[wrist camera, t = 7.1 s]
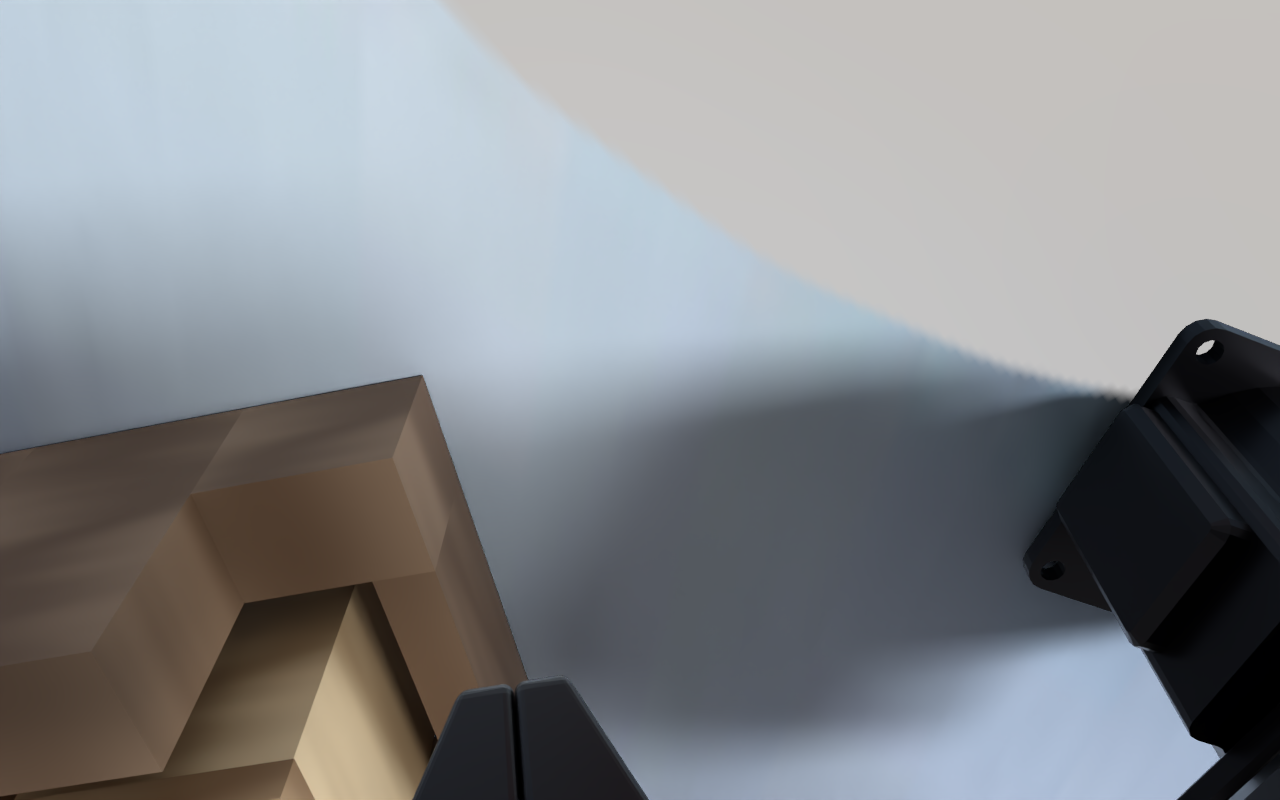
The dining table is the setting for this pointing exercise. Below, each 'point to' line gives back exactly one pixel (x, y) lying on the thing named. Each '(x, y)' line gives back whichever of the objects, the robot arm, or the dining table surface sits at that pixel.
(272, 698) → the peg
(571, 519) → the dining table surface
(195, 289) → the dining table surface
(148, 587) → the socket
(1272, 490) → the robot arm
